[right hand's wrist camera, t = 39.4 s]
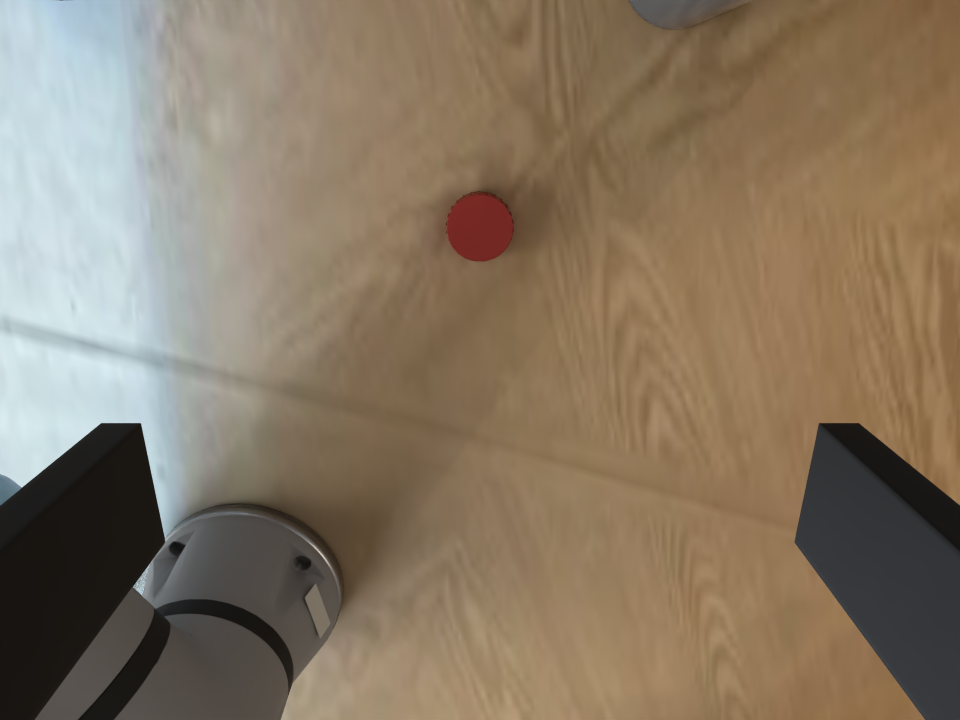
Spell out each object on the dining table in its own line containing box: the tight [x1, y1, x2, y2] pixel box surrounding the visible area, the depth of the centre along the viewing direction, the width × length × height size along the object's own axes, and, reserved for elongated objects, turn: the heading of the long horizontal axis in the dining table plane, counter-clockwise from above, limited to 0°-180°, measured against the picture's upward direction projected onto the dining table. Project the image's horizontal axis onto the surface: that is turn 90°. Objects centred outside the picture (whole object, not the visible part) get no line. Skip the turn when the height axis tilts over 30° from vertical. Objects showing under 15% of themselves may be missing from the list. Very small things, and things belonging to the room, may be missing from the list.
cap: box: [446, 191, 514, 261], centre depth 42 cm, size 4×4×2 cm
